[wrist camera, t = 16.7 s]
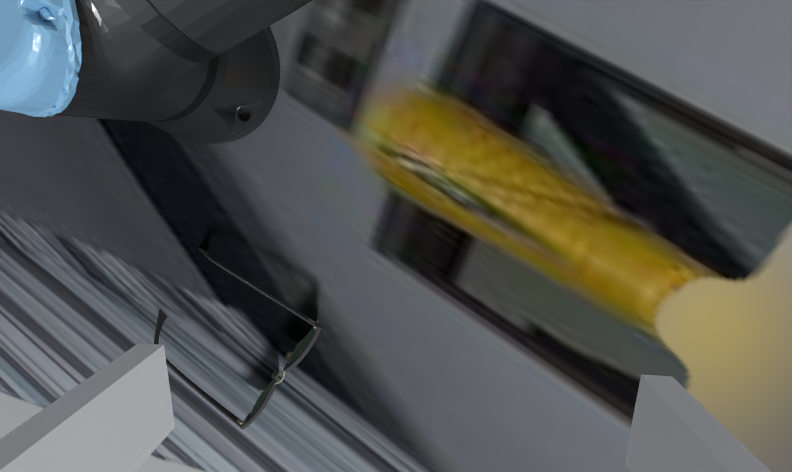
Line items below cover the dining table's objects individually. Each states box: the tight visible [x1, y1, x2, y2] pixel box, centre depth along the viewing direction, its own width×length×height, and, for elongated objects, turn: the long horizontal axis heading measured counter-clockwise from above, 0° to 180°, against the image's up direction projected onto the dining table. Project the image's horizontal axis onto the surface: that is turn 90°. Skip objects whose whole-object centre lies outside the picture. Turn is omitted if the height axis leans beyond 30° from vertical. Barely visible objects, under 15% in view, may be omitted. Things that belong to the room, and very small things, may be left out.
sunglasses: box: [154, 248, 322, 429], centre depth 44 cm, size 16×17×5 cm
